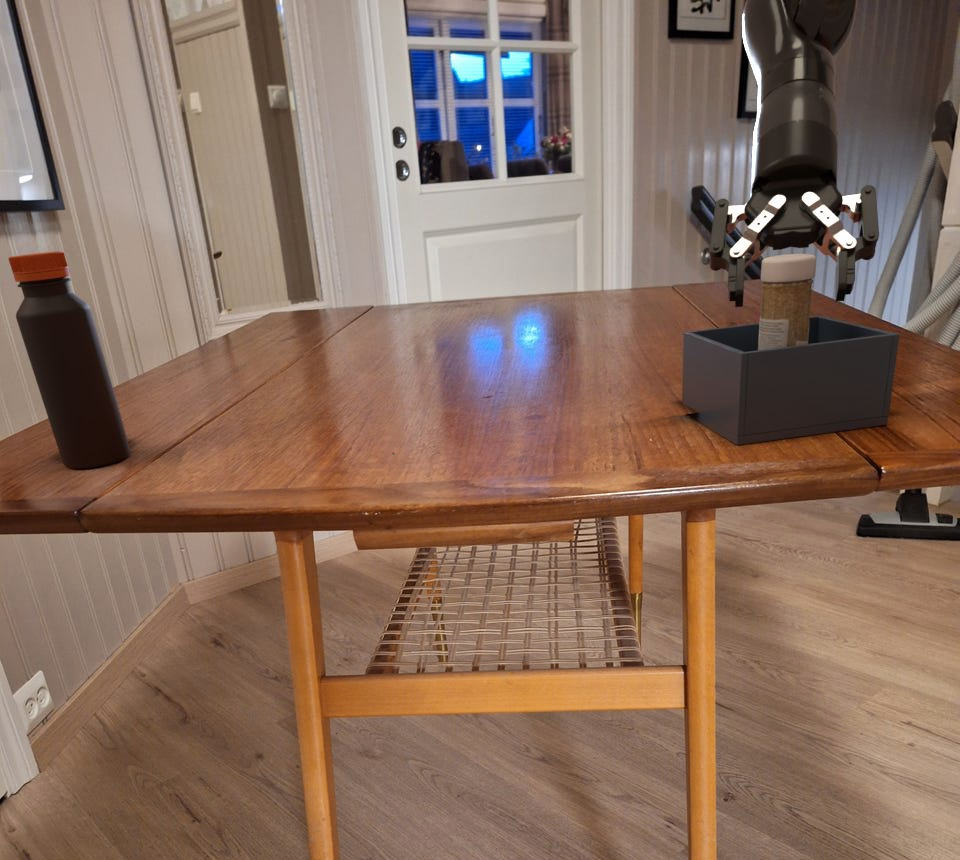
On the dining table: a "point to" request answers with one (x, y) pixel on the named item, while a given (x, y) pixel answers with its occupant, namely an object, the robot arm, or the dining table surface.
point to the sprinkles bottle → (785, 300)
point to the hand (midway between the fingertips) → (789, 298)
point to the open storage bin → (789, 381)
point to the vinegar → (68, 363)
